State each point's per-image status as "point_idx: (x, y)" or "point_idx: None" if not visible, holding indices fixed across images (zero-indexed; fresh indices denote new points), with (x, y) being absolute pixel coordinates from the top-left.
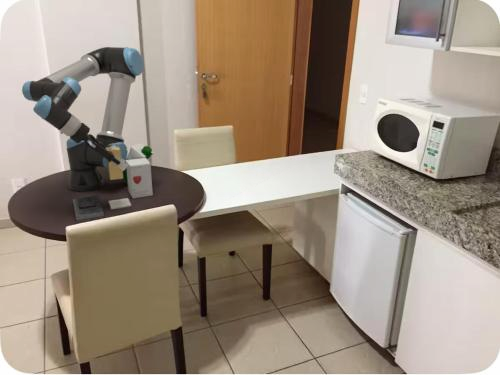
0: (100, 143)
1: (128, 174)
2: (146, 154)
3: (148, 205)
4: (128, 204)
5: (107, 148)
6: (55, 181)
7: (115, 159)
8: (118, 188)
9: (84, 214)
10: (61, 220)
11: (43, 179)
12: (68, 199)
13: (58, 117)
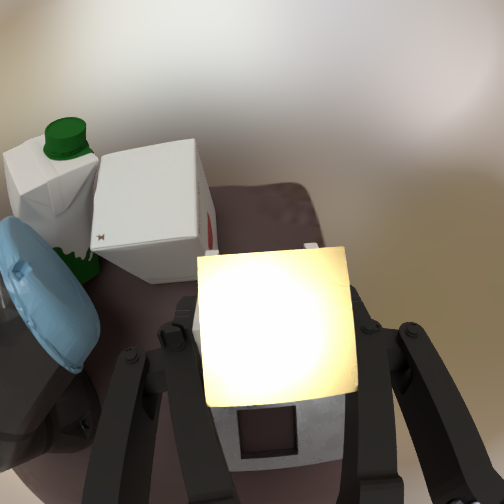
0: (203, 474)
1: (165, 262)
2: (83, 146)
3: (298, 235)
4: None
5: (256, 388)
6: None
7: (367, 316)
8: (107, 312)
9: None
10: (322, 486)
11: (15, 471)
12: (157, 470)
13: None
